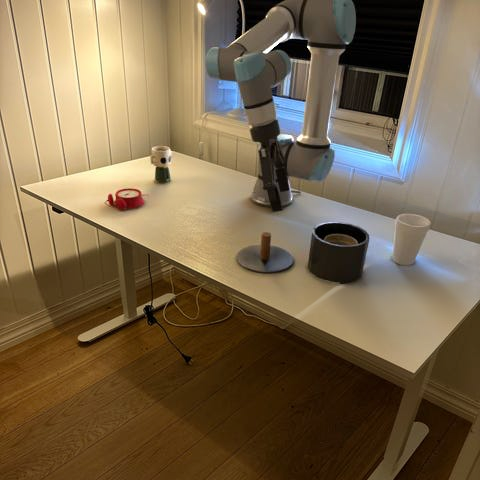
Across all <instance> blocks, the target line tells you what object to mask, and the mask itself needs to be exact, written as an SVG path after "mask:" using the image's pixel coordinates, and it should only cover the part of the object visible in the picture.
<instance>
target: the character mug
mask: <svg viewBox="0 0 480 480" xmlns="http://www.w3.org/2000/svg"><path fill="white" fill-rule="evenodd" d="M149 159H150V164H151V165H153V166H154V167H155V171H154V181H155V182H158V183H162V184H165V183H168V182H170V181H171V174H170V168H169V167H170V166H171V164H172V160H173V151H172V150H171V148H170V147H169V146H166V145H157V146H153V147H151V155H150V158H149Z"/></svg>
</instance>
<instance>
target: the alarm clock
mask: <svg viewBox="0 0 480 480" xmlns="http://www.w3.org/2000/svg"><path fill="white" fill-rule="evenodd" d="M114 193H115V194H114V196H115V200H114V196H113V194H112V193H109V194H108V195H107V199H106V201H105V202H104V205H106V206H108V207H115V208H116V209H117V210H119V211H125V210H126V209H131V210H132V209H136V208H140V207H142V206H144V204H145V199H144V198H143V197H144V196H145V194H143V193H142V191H141V190H140V189H137V188H130V187H129V188H128V187H127V188H122V189H121V188H120V189H119V190H117V191H115V192H114ZM146 196H149V194H148V193H147V194H146Z"/></svg>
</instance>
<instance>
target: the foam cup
mask: <svg viewBox="0 0 480 480" xmlns="http://www.w3.org/2000/svg"><path fill="white" fill-rule="evenodd" d="M430 228H431V220H430V219H428V218H427V217H425V216H423V215H420V214H415V213H401V214H399V215H397V216H396V219H395V222H394V237H393V248H392V261H393V262H394V263H396V264H398V265H401V266H411V265H413V264H414V263H415V260H416V258H417V256H418V254H419V252H420V249H421V247H422V245H423V243H424V240H425V238H426V236H427V233H428V232H429V230H430Z"/></svg>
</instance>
